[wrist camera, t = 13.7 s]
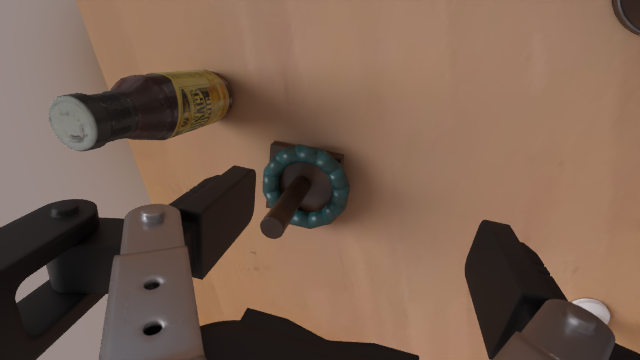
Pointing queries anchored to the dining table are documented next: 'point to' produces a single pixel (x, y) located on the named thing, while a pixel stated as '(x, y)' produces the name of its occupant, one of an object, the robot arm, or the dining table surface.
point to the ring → (321, 161)
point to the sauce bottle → (141, 109)
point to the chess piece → (594, 308)
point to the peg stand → (297, 192)
